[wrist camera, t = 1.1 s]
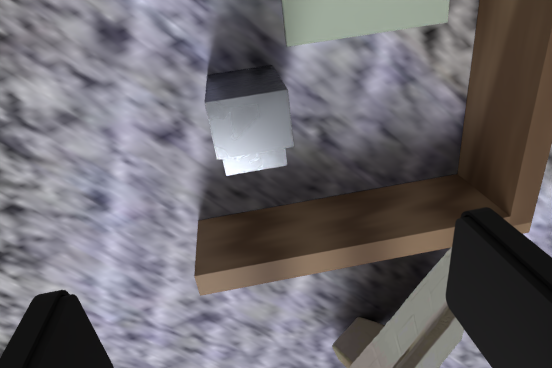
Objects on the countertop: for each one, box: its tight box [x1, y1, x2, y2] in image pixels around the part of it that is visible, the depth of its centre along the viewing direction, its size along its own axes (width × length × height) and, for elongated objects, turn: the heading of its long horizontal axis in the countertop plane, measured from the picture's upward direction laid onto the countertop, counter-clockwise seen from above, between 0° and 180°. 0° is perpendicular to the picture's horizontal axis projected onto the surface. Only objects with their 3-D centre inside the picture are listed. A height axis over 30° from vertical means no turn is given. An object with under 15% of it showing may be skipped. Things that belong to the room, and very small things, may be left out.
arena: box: [194, 0, 552, 296], centre depth 21 cm, size 22×23×6 cm
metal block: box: [205, 65, 294, 176], centre depth 22 cm, size 4×6×6 cm, turn 7°
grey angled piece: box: [332, 247, 464, 368], centre depth 33 cm, size 16×9×15 cm
